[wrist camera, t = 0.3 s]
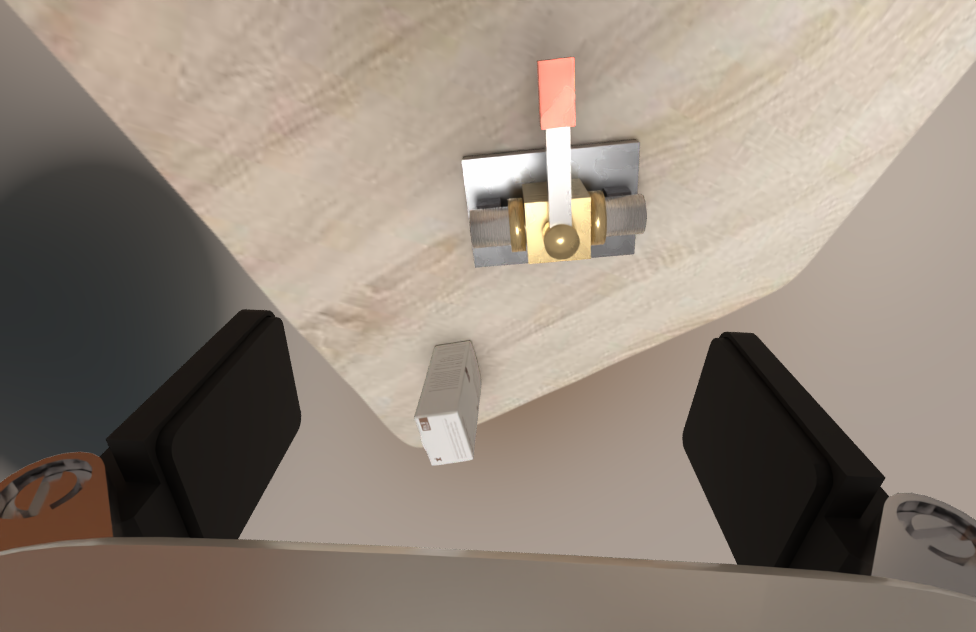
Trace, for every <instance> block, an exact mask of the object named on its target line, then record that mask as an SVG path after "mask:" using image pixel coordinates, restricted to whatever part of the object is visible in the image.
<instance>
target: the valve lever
mask: <svg viewBox="0 0 976 632" xmlns="http://www.w3.org/2000/svg"><path fill="white" fill-rule="evenodd" d="M537 73H538V94H539V116H540V127H541V129H542V130H543V129H545V148H546V172H547V196H548V220H549V222H548V223H547V224H546V225H545V226H544V228H543V232H542V237H543V242H544V246H545V250H546V252H547V253H548V255H550V256H551V257H552V258H555V259H559V260H563V259H567V258H570V257H571V256H573V255H574V254H575V253H576V252H577V250H578V248H579V245H580V239H579V236H578V233H577V231H576V228H575V226H574V224H573V223H572V206H571V148H570V127H572V126H575V70H574V57H566V58H557V59H549V60H540V61H537Z"/></svg>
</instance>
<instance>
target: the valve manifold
mask: <svg viewBox="0 0 976 632" xmlns="http://www.w3.org/2000/svg"><path fill="white" fill-rule="evenodd" d="M570 148H571V206H572V223H573V224H574V226H575V228H576V231H577V233H578V236H579V239H580V245H579V248H578V250H577V252H576V253H575V254H574V255H573V256H571V257H570V258H567V259H563V260H559V259H555V258H552V257H551V256H550V255H548V253H547V252H546V250H545V246H544V242H543V237H542V232H543V228H544V226H545V225H546V224H547V223H548V222H549V220H548V196H547V172H546V148H545V149H535V150H526V151H516V152H506V153H496V154H487V155H477V156H467V157H463V158H462V168H463V176H464V184H465V192H466V200H467V207H468V215H469V223H470V233H471V241H472V247H473V255H474V263H475V268H476V267H488V266H500V265H511V264H523V263H529V264H534V263H545V262H557V261H569V260H581V259H591V258H594V257H606V256H618V255H630V254H634V249H635V234H643V233H644V231H645V227H646V219H647V213H646V203H645V199H644V196H643V195H642V194H637V190H638V171H639V152H640V142H639V141H637V140H636V139H633V140H623V141H614V142H604V143H594V144H584V145H575V146H570Z"/></svg>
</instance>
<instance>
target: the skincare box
mask: <svg viewBox="0 0 976 632" xmlns="http://www.w3.org/2000/svg"><path fill="white" fill-rule="evenodd" d="M480 393H481V376H480V371H479V367H478V363H477V359H476V356H475V352H474V349H473V346H472V343H471V341H464V342H457V343H450V344H445V345H439V346H435V348H434V351H433V355H432V358H431V362H430V365H429V368H428V372H427V375H426V379H425V382H424V386H423V389H422V392H421V396H420V399H419V402H418V406H417V409H416V413H415V416H414V419H415V422H416V425H417V427H418V430H419V433H420V436H421V442H422V445H423V447H424V448H425V450H426V452H427V455H428V457H429V460H430V462H431V465H442V464H448V463H455V462H462V461H467V460H472V459H473V458H474V446H475V437H476V429H477V420H478V411H479V401H480Z"/></svg>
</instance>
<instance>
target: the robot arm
mask: <svg viewBox="0 0 976 632" xmlns="http://www.w3.org/2000/svg"><path fill="white" fill-rule="evenodd" d="M300 423H301V411H300V406H299V401H298V396H297V391H296V386H295V381H294V376H293V371H292V366H291V361H290V356H289V351H288V346H287V341H286V336H285V331H284V326H283V322H282V320H281V319H280V318H277V317H275V315H274V314H273V313H272V312H271V311H267V310H247V309H245V310H241V311H239V312H238V313H237V314H236V315H235V316H234V317H233V318H232V319H231V320H230V321H229V322H228V323H227V324H226V325H225V326H224V327H223V328H221V330H219V331H218V332H217V333H216V334H215V335H214V336H213V337H212V338H211V339H210V340H209V341H208V342H207V343H206V344H205V345H204V346H203V347H202V348H201V349H200V350H199V351H197V352H196V353H195V354H194V355H193V356H192V357H191V358H190V359H189V360H188V361H187V362H186V363H185V364H184V365H183V366H182V367H181V368H180V369H179V370H178V371H177V372H176V373H174V374H173V376H171V377H170V378H169V379H168V380H167V381H166V382H165V383H164V384H163V385H162V386H161V387H160V388H159V389H158V390H157V391H156V392H155V393H153V394H152V395H151V396H150V398H148V399H147V400H146V401H145V402H144V403H143V404H142V405H141V406H140V407H139V408H138V409H137V410H136V411H135V412H134V413H133V414H132V415H130V416H129V417H128V418H127V419H126V420H125V421H124V422H123V423H122V424H121V425H120V426H119V427H118V428H117V429H116V430H115V431H114V432H113V433H112V434H111V435H110V436H109V437H107V439H106V441H107V443H108V446H109V448H108V449H107V450H106V451H105V452H104V453H103V454H102V455H101V456H100V457H98V456H97V455H95V454H93V453H86V452H73V453H63V454H59V455H55V456H52V457H48V458H45V459H42V460H40V461H37V462H35V463H33V464H30V465H28V466H26V467H24V468H22V469H20V470H19V471H17V472H15V473H13V474H11V475H10V476H8V477H7V478H6V479H4V480H3V481H2V482H0V632H976V520H975V519H973V518H972V517H970V516H969V515H967V514H966V513H964V512H962V511H960V510H958V509H956V508H954V507H953V506H951V505H948V504H946V503H944V502H942V501H939V500H936V499H934V498H931V497H928V496H924V495H919V494H914V493H897V494H894V495H892V496H890V497H889V496H888V495H887V493H886V492H885V491H884V490H883V489H882V488H881V487H880V486H881V484H882V483H883V481H884V479H885V477H884V475H883V474H882V473H881V472H880V471H879V470H878V469H877V468H876V467H875V466H874V465H873V463H872V462H871V461H870V460H869V459H868V458H867V457H866V456H865V455H864V453H863V452H862V451H861V450H860V449H859V448H858V447H857V446H856V445H855V444H854V442H853V441H852V440H851V439H850V438H849V437H848V436H847V435H846V434H845V433H844V431H843V430H842V429H841V428H840V427H839V426H838V425H837V424H836V423H835V421H834V420H833V419H832V418H831V417H830V416H829V415H828V414H827V413H826V412H825V410H824V409H823V408H822V407H821V406H820V405H819V404H818V403H817V402H816V401H815V400H814V398H813V397H812V396H811V395H810V394H809V393H808V392H807V391H806V390H805V388H804V387H803V386H802V385H801V384H800V383H799V382H798V381H797V380H796V379H795V377H794V376H793V375H792V374H791V373H790V372H789V371H788V370H787V369H786V368H785V367H784V365H783V364H782V363H781V362H780V361H779V360H778V359H777V358H776V357H775V355H774V354H773V353H772V352H771V351H770V350H769V349H768V348H767V347H766V346H765V345H764V343H763V342H762V341H761V340H760V339H759V338H758V337H757V336H756V335H755V334H754V333H740V332H724V333H722V334H721V335H720V337H719V338H715V339H713V340H712V342H711V344H710V347H709V350H708V353H707V356H706V360H705V363H704V366H703V369H702V373H701V376H700V379H699V383H698V386H697V389H696V392H695V395H694V398H693V402H692V405H691V408H690V411H689V415H688V418H687V421H686V424H685V427H684V431H683V437H682V438H683V447H684V449H685V452H686V454H687V456H688V458H689V460H690V463H691V465H692V467H693V469H694V471H695V473H696V475H697V478H698V480H699V482H700V484H701V486H702V489H703V491H704V493H705V495H706V497H707V499H708V502H709V504H710V506H711V508H712V510H713V512H714V515H715V517H716V519H717V521H718V523H719V525H720V528H721V530H722V532H723V534H724V536H725V539H726V541H727V543H728V545H729V547H730V549H731V552H732V554H733V556H734V558H735V560H736V563H737V565H734V564H719V563H701V562H684V561H665V560H648V559H631V558H613V557H594V556H577V555H557V554H538V553H520V552H501V551H481V550H461V549H441V548H420V547H419V548H418V547H401V546H379V545H357V544H334V543H313V542H312V543H311V542H291V541H269V540H268V541H267V540H243V539H240V540H239V539H238V538H239V536H240V534H241V533H242V531H243V529H244V527H245V525H246V524H247V522H248V520H249V518H250V516H251V515H252V513H253V511H254V509H255V507H256V506H257V504H258V502H259V500H260V498H261V496H262V495H263V493H264V491H265V489H266V488H267V485H268V484H269V482H270V480H271V479H272V477H273V475H274V473H275V471H276V469H277V468H278V466H279V464H280V462H281V460H282V459H283V457H284V455H285V453H286V451H287V450H288V448H289V446H290V444H291V442H292V441H293V439H294V437H295V435H296V433H297V431H298V429H299V427H300Z"/></svg>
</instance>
